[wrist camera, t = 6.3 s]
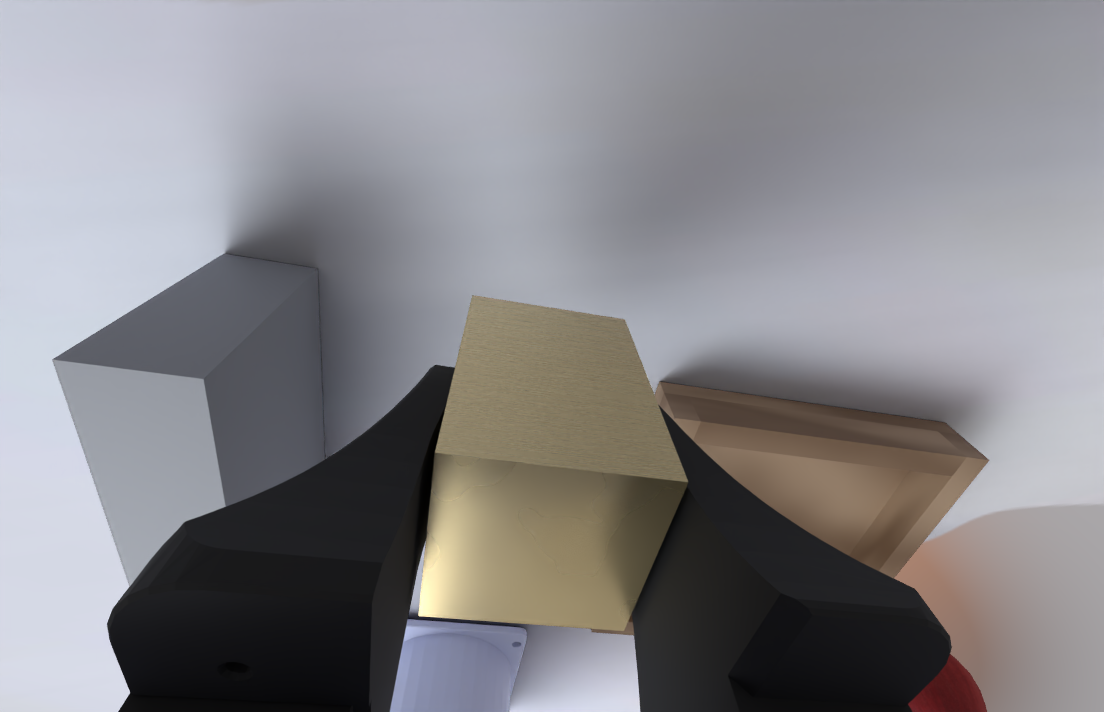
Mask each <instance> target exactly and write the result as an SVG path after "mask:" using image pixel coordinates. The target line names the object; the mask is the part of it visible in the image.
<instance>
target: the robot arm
mask: <svg viewBox="0 0 1104 712" xmlns="http://www.w3.org/2000/svg"><path fill="white" fill-rule="evenodd" d="M454 370H455V368H454V367H446V366H439V365H435V366H433V367H432V368H430V369H429V371H428V372H427V373H426V374H425V376H424V377H423V378H422V379H421V380H420V382H419V383H418V384H417V385H416V386H415V387H414V388H413V389H412V390H411V391H410V392H409V393H408V394H407V395H406V396H405V397H404V398H403V399H402V400H401V401H400V402H399V403H398V404H397V405H396V406H395V407H394V408H393V409H392V410H391V411H390V412H389V413H387V414H386V415H385V416H384V417H383V418H382V419H380V420H379V421H378V422H377V423H376V424H374V425H373V426H372V427H371V428H370V429H368V430H367V431H366V432H365V433H363V434H362V435H361V436H359V437H358V438H357V439H355V440H354V441H353V442H351V443H350V444H348V445H347V446H345V447H344V448H342V449H341V450H339V451H338V452H336V453H335V454H333V455H332V456H330V457H328V458H327V459H325V460H323V461H322V462H320V463H318V464H317V465H315V466H313V467H311V468H310V469H308V470H306V471H304V472H303V473H301V474H299V475H297V476H295V477H293V478H291V479H289V480H287V481H285V482H283V483H281V484H279V485H276V486H274V487H272V488H270V489H267V490H265V491H263V492H261V493H259V494H256V495H254V496H252V497H249V498H247V499H244V500H242V501H239V502H237V503H234V504H231V505H229V506H226V507H223V508H221V509H218V510H215V511H213V512H210V513H207V514H205V515H202V516H200V517H197V518H194V519H191V520H188V521H185V522H184V523H183V524H182V525H181V526H180V528H179V529H178V530H177V531H176V532H175V533H174V534H173V535H172V536H171V537H170V538H169V539H168V540H167V541H166V542H165V543H164V544H163V545H162V547H161V548H160V549H159V550H158V551H157V552H156V554H155V555H154V556H153V557H152V558H151V560H150V561H149V562H148V563H147V565H146V566H145V567H144V569H143V570H142V571H141V573H140V574H139V575H138V576H137V578H136V579H135V580H134V582H133V583H132V584H131V586H130V587H129V588H128V590H127V591H126V592H125V593H124V595H123V596H122V597H121V599H120V600H119V601H118V603H117V604H116V605H115V607H114V608H113V610H112V612H111V615H110V617H109V620H108V623H107V627H108V633H109V640H110V642H111V645H112V648H113V650H114V653H115V655H116V658H117V660H118V663H119V665H120V668H121V670H122V673H123V675H124V678H125V680H126V683H127V685H128V688H129V690H130V694H129V696H128V697H127V699H126V700H125V702H124V704H123V705H122V707H121V708H120V710H119V712H509V707H510V697H511V693H512V690H513V686H514V683H515V679H516V676H517V672H518V669H519V665H520V662H521V658H522V655H523V651H524V647H525V644H526V640H527V631H526V630H525V629H523V628H520V627H508V626H494V625H481V624H467V623H453V622H440V621H426V620H413V619H408V615H409V610H410V605H411V600H412V595H413V590H414V585H415V580H416V575H417V570H418V566H419V562H420V558H421V554H422V551H423V547H424V544H425V541H426V536H427V526H428V516H429V506H430V496H431V486H432V476H433V466H434V457H435V450H436V446H437V442H438V438H439V433H440V429H441V425H442V421H443V417H444V412H445V408H446V404H447V400H448V396H449V391H450V387H451V383H452V379H453V375H454ZM658 406H659V405H658ZM659 408H660V411H661V413H662V416H663V418H664V421H665V424H666V426H667V429H668V431H669V434H670V436H671V439H672V441H673V444H674V446H675V449H676V452H677V454H678V457H679V459H680V462H681V464H682V467H683V469H684V472H685V475H686V477H687V480H688V485H687V487H686V489H685V492H684V494H683V496H682V498H681V501H680V503H679V505H678V508H677V510H676V512H675V515H674V517H673V519H672V522H671V524H670V526H669V528H668V531H667V533H666V535H665V538H664V540H663V542H662V545H661V547H660V549H659V551H658V554H657V556H656V558H655V561H654V563H653V565H652V568H651V570H650V572H649V574H648V577H647V579H646V581H645V584H644V586H643V588H642V591H641V593H640V595H639V597H638V600H637V602H636V604H635V607H634V609H633V611H632V620H633V628H634V639H635V649H636V660H637V670H638V683H639V697H640V711H641V712H912V710H911V708H910V707H909V705H908V704H909V703H910V702H911V701H912V700H913V699H914V698H915V697H916V696H917V695H918V694H919V693H920V692H921V691H922V690H923V689H924V688H925V687H926V686H927V685H928V684H929V683H930V682H931V681H932V680H933V679H934V678H935V677H936V676H937V675H938V674H939V673H940V671H941V670H942V669H943V667H944V666H945V665H946V664H947V661H948V658H949V655H950V652H951V648H952V647H951V640H950V636H949V635H948V633H947V632H946V630H945V629H944V628H943V626H942V625H941V624H940V622H939V621H938V619H937V618H936V617H935V615H934V614H933V613H932V611H931V610H930V608H929V607H928V606H927V604H926V603H925V602H924V600H923V599H922V598H921V596H920V595H919V594H918V592H917V591H916V590H915V589H914V588H912V587H910V586H907V585H906V584H904V583H902V582H900V581H897V580H895V579H894V578H892V577H890V576H888V575H886V574H884V573H882V572H880V571H877V570H875V569H873V568H871V567H869V566H867V565H865V564H863V563H861V562H859V561H858V560H856V559H854V558H852V557H850V556H848V555H847V554H845V553H843V552H841V551H840V550H838V549H836V548H834V547H833V546H831V545H829V544H827V543H826V542H824V541H822V540H821V539H819V538H817V537H816V536H814V535H812V534H811V533H809V532H807V531H806V530H804V529H803V528H801V527H800V526H798V525H797V524H795V523H794V522H792V521H791V520H789V519H788V518H786V517H785V516H783V515H782V514H780V513H779V512H777V511H776V510H774V509H773V508H772V507H770V506H769V505H767V504H766V503H765V502H763V501H762V500H761V499H759V498H758V497H757V496H755V495H754V494H753V493H752V492H750V491H749V490H748V489H746V488H745V487H744V486H743V485H741V484H740V483H739V482H738V481H736V480H735V479H734V478H733V477H732V476H731V475H729V474H728V473H727V472H726V471H725V470H724V469H723V468H722V467H720V466H719V465H718V464H717V463H716V462H715V461H714V460H713V459H712V458H711V457H709V456H708V455H707V454H706V453H705V452H704V451H703V450H702V449H701V448H700V447H699V446H698V445H697V444H696V443H695V442H694V441H693V440H692V439H691V438H690V437H689V436H688V435H687V434H686V433H685V432H684V431H683V430H682V429H681V428H680V427H679V426H678V424H677V423H676V422H675V421H674V420H673V419H672V418H671V417H670V416H669V415H668V414H667V413H666V412H665V411H664V410H663V409H662V408H661V407H660V406H659Z"/></svg>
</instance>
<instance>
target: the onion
mask: <svg viewBox="0 0 1104 712" xmlns="http://www.w3.org/2000/svg"><path fill="white" fill-rule="evenodd" d="M908 705H909V707H910V708H911V710H912V712H987V710H986V705H985V702H984V700H983V697H982V694H981V691H980V689H979V687H978V686H977V684H976V682H975V681H974V679H973V677H972V676H971V674H970V673H969V672H968V671H967V670H966V669H965V668H964V667H963V666H962V665H961V664H960V663H959V661H957V659H955V658H954V657H953V656H952V655H951V654H950V655H949V658H948V661H947V664H946V665H945V666H944V667H943V669H942V670H941V671H940V673H939V674H938V675H937V676H936V677H935V678H934V679H933V680H932V681H931V682H930V683H929V684H928V685H927V686H926V687H925V688H924V689H923V690H922V691H921V692H920V693H919V694H918V695H917V696H916V697H915V698H914V699H913V700H912V701H911V702H910V703H909V704H908Z"/></svg>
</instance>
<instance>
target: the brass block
mask: <svg viewBox="0 0 1104 712" xmlns="http://www.w3.org/2000/svg"><path fill="white" fill-rule="evenodd" d="M687 485H688V480H687V477H686V475H685V472H684V469H683V467H682V464H681V462H680V459H679V457H678V454H677V452H676V449H675V446H674V444H673V441H672V439H671V436H670V434H669V431H668V429H667V426H666V424H665V421H664V418H663V416H662V413H661V411H660V408H659V406H658V403H657V401H656V398H655V395H654V393H653V390H652V388H651V385H650V383H649V380H648V378H647V375H646V373H645V370H644V367H643V365H642V362H641V360H640V357H639V355H638V352H637V350H636V347H635V344H634V342H633V339H632V337H631V334H630V332H629V329H628V327H627V324H626V321H625V319H619V318H612V317H606V316H600V315H593V314H587V313H581V312H575V311H568V310H562V309H556V308H549V307H543V306H537V305H530V304H524V303H518V302H511V301H505V300H499V299H493V298H486V297H480V296H474V295H472V299H471V303H470V307H469V312H468V316H467V320H466V324H465V328H464V333H463V337H462V341H461V345H460V349H459V354H458V358H457V362H456V366H455V370H454V375H453V379H452V383H451V387H450V391H449V396H448V400H447V404H446V408H445V412H444V417H443V421H442V425H441V429H440V433H439V438H438V442H437V446H436V450H435V457H434V466H433V476H432V486H431V496H430V506H429V516H428V526H427V536H426V545H425V555H424V565H423V575H422V585H421V595H420V605H419V615H418V616H425V617H438V618H452V619H466V620H479V621H493V622H506V623H520V624H534V625H547V626H561V627H575V628H588V629H602V630H615V631H624V630H625V627H626V625H627V623H628V620H629V618H630V616H631V614H632V611H633V609H634V607H635V604H636V602H637V600H638V597H639V595H640V593H641V591H642V588H643V586H644V584H645V581H646V579H647V577H648V574H649V572H650V570H651V568H652V565H653V563H654V561H655V558H656V556H657V554H658V551H659V549H660V547H661V545H662V542H663V540H664V538H665V535H666V533H667V531H668V528H669V526H670V524H671V522H672V519H673V517H674V515H675V512H676V510H677V508H678V505H679V503H680V501H681V498H682V496H683V494H684V492H685V489H686V487H687Z"/></svg>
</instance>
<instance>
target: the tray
mask: <svg viewBox="0 0 1104 712" xmlns="http://www.w3.org/2000/svg"><path fill="white" fill-rule="evenodd" d="M655 398H656V401H657V403H658V405H659V406H660V407H661V408H662V409H663V410H664V411H665V412H666V413H667V414H668V415H669V416H670V417H671V418H672V419H673V420H674V421H675V422H676V423H677V424H678V426H679V427H680V428H681V429H682V430H683V431H684V432H685V433H686V434H687V435H688V436H689V437H690V438H691V439H692V440H693V441H694V442H695V443H696V444H697V445H698V446H699V447H700V448H701V449H702V450H703V451H704V452H705V453H706V454H707V455H708V456H709V457H711V458H712V459H713V460H714V461H715V462H716V463H717V464H718V465H719V466H720V467H722V468H723V469H724V470H725V471H726V472H727V473H728V474H729V475H731V476H732V477H733V478H734V479H735V480H736V481H738V482H739V483H740V484H741V485H743V486H744V487H745V488H746V489H748V490H749V491H750V492H752V493H753V494H754V495H755V496H757V497H758V498H759V499H761V500H762V501H763V502H765V503H766V504H767V505H769V506H770V507H772V508H773V509H774V510H776V511H777V512H779V513H780V514H782V515H783V516H785V517H786V518H788V519H789V520H791V521H792V522H794V523H795V524H797V525H798V526H800V527H801V528H803V529H804V530H806V531H807V532H809V533H811V534H812V535H814V536H816V537H817V538H819V539H821V540H822V541H824V542H826V543H827V544H829V545H831V546H833V547H834V548H836V549H838V550H840V551H841V552H843V553H845V554H847V555H848V556H850V557H852V558H854V559H856V560H858V561H859V562H861V563H863V564H865V565H867V566H869V567H871V568H873V569H875V570H877V571H880V572H882V573H884V574H886V575H888V576H890V577H892V578H894V577H895V576H896V575H897V574H898V573H899V571H900V570H901V569H902V567H903V566H904V565H905V564H906V563H907V561H908V560H909V559H910V558H911V556H912V555H913V554H914V553H915V552H916V550H917V549H918V548H919V547H920V545H921V544H922V543H923V542H924V540H925V539H926V538H927V537H928V535H929V534H930V533H931V532H932V530H933V529H934V528H935V527H936V526H937V524H938V523H939V522H940V521H941V519H942V518H943V517H944V516H945V514H946V513H947V512H948V511H949V509H950V508H951V507H952V506H953V504H954V503H955V502H956V501H957V500H958V498H959V497H960V496H961V495H962V493H963V492H964V491H965V490H966V488H967V487H968V486H969V485H970V483H971V482H972V481H973V480H974V479H975V477H976V476H977V475H978V474H979V472H980V471H981V470H982V469H983V467H984V466H985V465H986V464H987V462H988V461H989V460H988V459H987V458H986V457H985V456H984V455H983V454H981V453H980V452H979V451H978V450H977V449H975V448H974V447H973V446H972V445H971V444H970V443H968V442H967V441H966V440H965V439H964V438H963V437H961V436H960V435H959V434H958V433H957V432H956V431H954V430H953V429H952V428H951V427H950V426H948V425H947V424H946V423H944V422H937V421H930V420H923V419H916V418H909V417H902V416H895V415H888V414H881V413H874V412H867V411H860V410H853V409H846V408H840V407H833V406H826V405H819V404H812V403H805V402H798V401H791V400H784V399H777V398H770V397H763V396H756V395H749V394H742V393H735V392H728V391H721V390H714V389H707V388H700V387H693V386H686V385H679V384H672V383H666V382H659V384H658V387H657V390H656V392H655ZM591 630H592V632H597V633H610V634H624V635H634V628H633V620H632V614H631V616H630V618H629V620H628V623H627V625H626V627H625V630H624V631H615V630H602V629H591Z"/></svg>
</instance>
